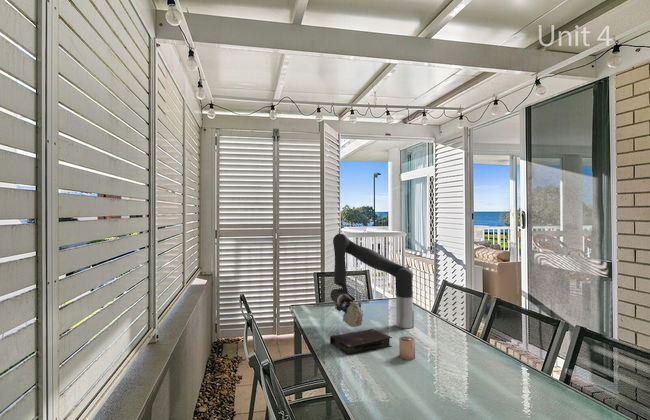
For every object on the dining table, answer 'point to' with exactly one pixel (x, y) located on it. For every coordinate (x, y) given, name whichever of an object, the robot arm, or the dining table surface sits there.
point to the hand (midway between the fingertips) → (351, 310)
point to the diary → (360, 341)
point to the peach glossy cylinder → (407, 348)
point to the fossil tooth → (353, 315)
